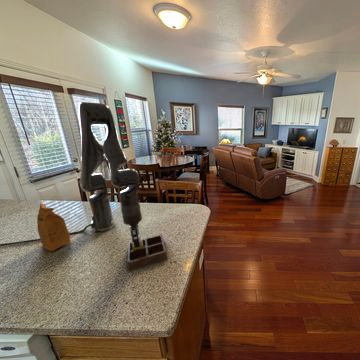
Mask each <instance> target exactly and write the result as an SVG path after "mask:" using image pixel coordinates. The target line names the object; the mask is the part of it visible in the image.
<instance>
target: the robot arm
mask: <svg viewBox="0 0 360 360" xmlns="http://www.w3.org/2000/svg"><path fill="white" fill-rule="evenodd" d="M113 115H114V114H113V113H112V110H111V108H110V107H109V105H107V104H105V103H101V102H89V101H81V102H79V105H78V119H79V126H80V127H79V128H80V160H81V161H80V162H81V168H80V175H79V177H80V178H79V182H80V188H81V190H82V191H83V192H85V193H92V192H95V193H94V194H93V195H91V196H89V197H88V204H89V208H90V212H91V214H92V215H91V221H90V224H88V225H85V227H84V228H83V229H81V230H77V231H71V232H69V236H70V235H77V234H80V233H83V232H85V231H86V230H87V228H89V227H91V229H94V232H104V231H108V230H110V229H111V230H112V228H114V227H115V219H114V217H113V212H112V208H111V204H110V203H111V202H110V199H109V191H108V185H107V179H106V177H105V175H104V174H102V173H100V172H99V173H95V171H96V170H97V169H98V168H99V167H100V166H101V165H102V163H103V162H104V160H105V158H106V160H107V163H108V167H109V175H110V183H111V185H112V186H114V187H115V188H116V189H117V188H124V187H127V188H126V189H124V190H121V191H120V192H119V193H118V198H119V203H120V211H121V215H122V220H123V224H124V225H126V226H129V227H128V230H129V233H130V237H132V239H131V241H132V242H134V247H135V248H137V247H140V243H139V236H138V235H139V234H140V222H141V221H142V220H143V216H142V209H141V205H140V201H139V195H138V193H139V192H138V191H139V184H140V175H139V172H138V171H137V170H136V169H135V168H126V169H121V170H120V169H119V168H122V167H124V166H125V165H127V164H128V158H127V156H126V154H125V152H124V149H123V147H122V145H121V142H120V138H119V133H118V130H117V126H116V122H115V119H114V116H113ZM92 126H105V128H106V135H105V138H104V140H103V143H102V141H101V140H100V139H99V138H98V137H97V136H96V134H95V133H94V132H93V129H92ZM136 237H137V238H136ZM134 238H135V239H134ZM38 241H41V240H40V238H34V239H27V240H20V241H13V242H6V243H0V247H5V246H12V245H17V244H18V245H19V244H25V243H33V242H38Z"/></svg>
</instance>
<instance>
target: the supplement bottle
mask: <svg viewBox="0 0 360 360" xmlns="http://www.w3.org/2000/svg"><path fill="white" fill-rule="evenodd" d="M138 236H139V243H140V247H137V248H135V247H134V242H132V236H130V237H131V240H130V242H131V243H132V248H133V250H136V249H140V248H144V246H143V241H142V239H143V238H142V235H141V234H140V233H139V235H138ZM136 238H137V237H136ZM134 239H135V238H134Z"/></svg>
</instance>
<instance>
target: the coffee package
mask: <svg viewBox="0 0 360 360" xmlns="http://www.w3.org/2000/svg"><path fill="white" fill-rule="evenodd" d="M54 210H55V208H54V207H47V204H44V203H40V205H39V209H38V213H37V217H36V221H37V222H36V223H37V233H38V236H39V239H40V240H39V241H40V243H41V245H42V247H43V248H44V249H45V250H46V251H50V252H55V250H57V249H59V248H61V247H63V246H66V245H68V244H69V243H71V242H72V241H71V237H70V235H69V233H70V231H69V229H68V227H67V224H66V220H65V219H64V217H62V216H61V215H59V214H57V213H55V212H53V211H54Z"/></svg>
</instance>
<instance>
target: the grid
mask: <svg viewBox="0 0 360 360" xmlns="http://www.w3.org/2000/svg"><path fill="white" fill-rule="evenodd" d="M142 241H143V246H144V248H140V249H136V250H133V248H132V243H131V241H129V242H128V243H127V267H128V271H132V270H136V269H139V268H142V267H145V266H148V265H152V264H155V263H158V262H162V261H165V260H167V259H168V255H167V249H166V245H165V241H164V238H163V234H158V235H154V236H150V237H146V238H142Z"/></svg>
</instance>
